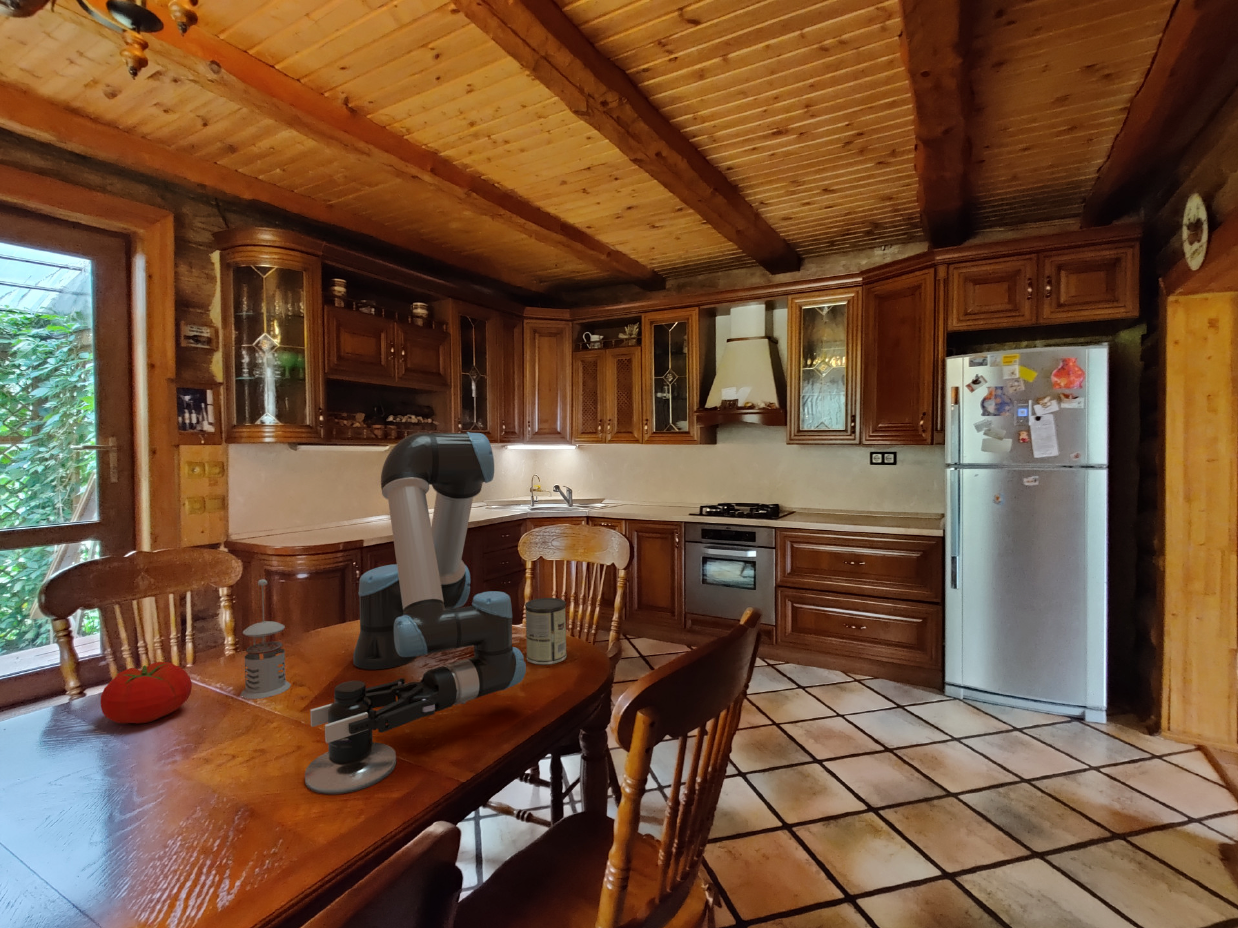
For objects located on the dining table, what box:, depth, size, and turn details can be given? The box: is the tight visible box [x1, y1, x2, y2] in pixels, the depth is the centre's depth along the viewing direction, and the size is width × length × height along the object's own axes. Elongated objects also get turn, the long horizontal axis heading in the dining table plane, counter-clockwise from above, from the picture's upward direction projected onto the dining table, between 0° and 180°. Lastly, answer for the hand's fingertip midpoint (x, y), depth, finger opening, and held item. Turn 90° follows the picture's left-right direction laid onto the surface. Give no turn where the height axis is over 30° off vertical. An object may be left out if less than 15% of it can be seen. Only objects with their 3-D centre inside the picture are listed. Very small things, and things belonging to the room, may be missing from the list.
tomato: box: [100, 661, 193, 725], centre depth 122 cm, size 14×16×10 cm
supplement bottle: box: [327, 680, 374, 765], centre depth 101 cm, size 7×7×12 cm
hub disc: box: [304, 742, 397, 795], centre depth 102 cm, size 14×14×1 cm
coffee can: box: [524, 597, 567, 665], centre depth 153 cm, size 10×10×14 cm
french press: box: [240, 578, 291, 700], centre depth 136 cm, size 10×12×25 cm
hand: (318, 725), depth 98 cm, fingers closed on supplement bottle, 7 cm apart
